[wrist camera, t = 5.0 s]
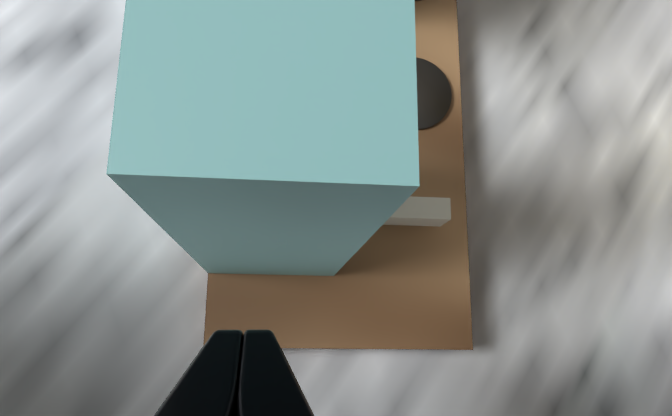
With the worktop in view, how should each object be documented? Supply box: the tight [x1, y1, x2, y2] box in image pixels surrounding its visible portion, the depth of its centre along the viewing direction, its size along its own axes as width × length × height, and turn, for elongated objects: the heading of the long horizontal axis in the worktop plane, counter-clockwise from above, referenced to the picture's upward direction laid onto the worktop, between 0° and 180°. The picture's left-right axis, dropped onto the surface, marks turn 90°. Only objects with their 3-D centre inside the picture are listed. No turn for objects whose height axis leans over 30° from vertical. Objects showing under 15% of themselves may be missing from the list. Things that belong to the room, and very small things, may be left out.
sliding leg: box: [107, 0, 451, 276], centre depth 11 cm, size 4×6×10 cm, turn 89°
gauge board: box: [204, 0, 473, 350], centre depth 17 cm, size 14×8×1 cm, turn 179°
